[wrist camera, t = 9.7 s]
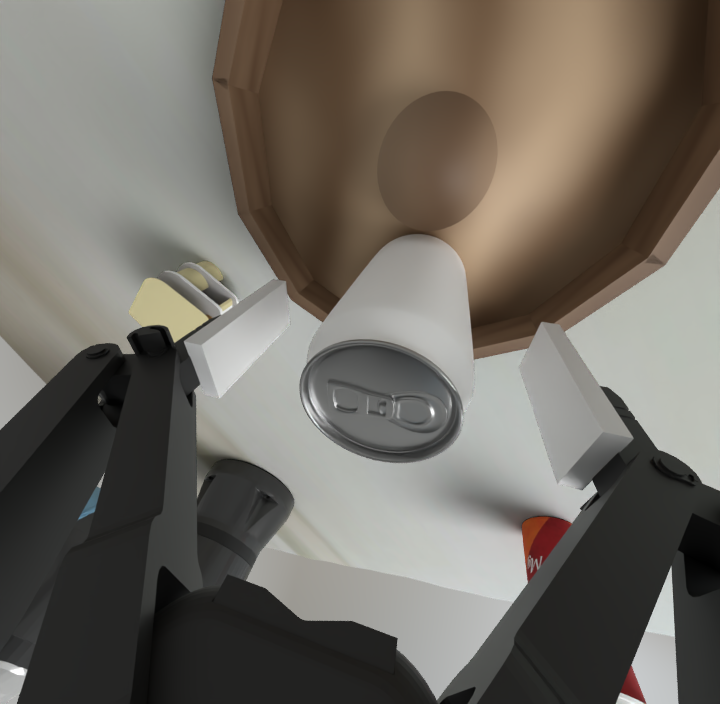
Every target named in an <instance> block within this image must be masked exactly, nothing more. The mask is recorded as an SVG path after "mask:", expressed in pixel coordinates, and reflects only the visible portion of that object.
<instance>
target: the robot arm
mask: <svg viewBox="0 0 720 704" xmlns="http://www.w3.org/2000/svg"><path fill="white" fill-rule="evenodd" d="M289 325H290V315H289V306H288V296H287V287H286V281H282V280H276V279H273V280H271V281H270V282H268V283H267V284H266V285H264V286H263V287H261V288H260V289H258V290H257V291H255V292H254V293H253V294H251V295H250V296H248V297H247V298H245V299H244V300H242V301H241V302H240V303H238V304H237V305H235V306H234V307H232V308H231V309H229V310H228V311H227V312H225V313H224V314H222V315H219V316H216V317H213V318H211V319H209V320H207V321H206V322H205V323H203V324H202V326H201V325H200V326H199V327H197V328H196V329H195V330H193V331H191V332H190V333H188V334H187V335H185V336H184V337H182V338H181V339H179V340H178V341H176V342H175V343H174V341H173V338H172V336H171V334H170V331H169V329H168V327H166V326H163V325H150V326H146V327H142V328H139V329H137V330H134V331H133V332H131V333H130V334H129V335H128V336H127V339H128V341H129V343H130V345H131V347H132V349H133V351H134V352H135V354H122V352H121V350H120V348H119V346H118V345H116V344H112V343H105V344H97V345H95V346H94V345H93V346H90V347H89V348H87V349H85V350H83V351H81V352H80V353H78V354H77V355H76V356H75V357H74V358H73V359H72V360H71V361H70V362H69V363H68V364H67V365H66V366H65V367H64V368H63V369H62V370H61V371H60V372H59V373H58V374H57V375H56V376H55V377H54V378H53V379H52V380H51V381H50V382H49V383H48V384H47V385H46V386H45V387H44V388H43V389H42V390H40V391H39V392H38V393H37V394H36V395H35V396H34V397H33V398H32V399H31V400H30V401H29V402H28V403H27V404H26V405H25V406H24V407H23V408H22V409H21V410H20V411H19V412H18V413H17V414H16V415H15V416H14V417H13V418H12V419H11V420H10V421H9V422H8V423H7V424H6V425H5V426H4V427H3V428H2V429H1V430H0V704H6V703H7V702H8V701H10V700H11V699H12V698H13V697H15V696H16V695H18V694H19V693H20V695H19V699H18V702H17V704H616V702H617V699H618V697H619V694H620V692H621V689H622V687H623V684H624V682H625V679H626V677H627V674H628V672H629V669H630V667H631V664H632V661H633V659H634V657H635V654H636V652H637V649H638V647H639V645H640V642H641V639H642V637H643V635H644V632H645V630H646V627H647V625H648V622H649V620H650V617H651V615H652V612H653V610H654V607H655V605H656V602H657V600H658V597H659V595H660V592H661V590H662V587H663V585H664V582H665V580H666V577H667V575H668V572H669V570H670V567H671V565H672V584H673V603H674V623H675V643H676V663H677V680H678V681H677V682H678V701H679V704H720V491H718V490H716V489H714V488H711V487H709V486H707V485H704V484H702V482H701V480H700V479H699V477H698V476H697V474H696V473H695V472H694V471H693V470H692V469H691V468H690V467H689V466H688V465H686V464H685V463H683V462H682V461H680V460H679V459H677V458H676V457H674V456H672V455H670V454H668V453H665V452H663V451H659V450H658V449H657V448H656V447H655V445H654V444H653V442H652V441H651V440H650V438H649V437H648V435H647V434H646V433H645V431H644V430H643V428H642V427H641V425H640V424H639V423H638V421H637V420H635V417H634V416H633V414H632V413H631V411H628V410H629V409H628V407H627V406H626V404H625V403H624V402H623V400H622V399H621V398H620V397H619V396H618V395H617V394H615V393H614V392H613V391H612V390H611V389H609V388H607V387H602V386H599V384H598V383H597V381H596V380H595V378H594V377H593V375H592V374H591V372H590V371H589V369H588V368H587V366H586V365H585V363H584V361H583V360H582V358H581V357H580V355H579V354H578V352H577V351H576V349H575V348H574V346H573V345H572V343H571V342H570V340H569V339H568V337H567V336H566V334H565V332H564V331H563V329H562V328H561V326H560V325H559V324H553V323H546V322H541V324H540V326H539V328H538V330H537V332H536V334H535V336H534V338H533V340H532V342H531V344H530V346H529V348H528V350H527V352H526V354H525V356H524V358H523V360H522V362H521V364H520V366H519V369H520V372H521V375H522V378H523V381H524V384H525V387H526V390H527V393H528V396H529V399H530V402H531V405H532V408H533V411H534V414H535V417H536V420H537V423H538V427H539V430H540V433H541V436H542V439H543V442H544V445H545V448H546V451H547V454H548V457H549V460H550V463H551V466H552V469H553V472H554V475H555V478H556V481H557V484H560V485H564V486H568V487H572V488H576V489H580V490H583V489H584V488H585V487H586V486H587V485H588V484H589V483H590V482H591V481H592V480H593V482H594V485H595V487H596V489H597V491H598V492H597V493H596V494H595V495H593V496H592V497H591V498H590V499H589V500H588V501H587V502H586V503H585V504H584V505H583V506H582V507H581V508H580V509H581V510H582V511H581V512H580V514H579V515H578V516H577V518H576V519H575V520H574V522H573V523H572V524H571V526H570V527H569V529H568V530H567V531H566V533H565V534H564V535H563V537H562V538H561V539H560V541H559V542H558V543H557V545H556V546H555V547H554V549H553V550H552V551H551V553H550V554H549V556H548V557H547V558H546V560H545V561H544V562H543V564H542V565H541V566H540V568H539V569H538V570H537V572H536V573H535V574H534V576H533V577H532V579H531V580H530V581H529V583H528V584H527V585H526V587H525V588H524V589H523V591H522V592H521V593H520V595H519V596H518V597H517V599H516V600H515V601H514V603H513V604H512V606H511V607H510V608H509V610H508V611H507V612H506V614H505V615H504V617H503V618H502V619H501V620H500V622H499V623H498V625H497V626H496V627H495V628H494V630H493V631H492V633H491V634H490V635H489V637H488V638H487V639H486V641H485V642H484V643H483V645H482V646H481V647H480V649H479V650H478V652H477V653H476V654H475V656H474V657H473V658H472V659H471V660H470V662H469V663H468V664H467V665H466V666H465V667H464V668H463V669H462V670H461V671H460V672H459V673H458V674H457V676H456V677H455V678H454V679H453V680H452V682H451V683H450V685H449V686H448V687H447V688H446V690H445V691H444V692H443V693H442V695H441V696H440V697H439V699H438V700H436V698H435V696H434V694H433V693H432V691H431V690H430V688H429V686H428V685H427V683H426V681H425V680H424V679H423V677H422V676H421V674H420V673H419V672H418V670H416V668H415V667H414V666H413V665H412V664H411V663H410V661H409V660H408V659H407V658H406V657H405V656H404V655H403V654H401V653H400V652H399V651H398V650H397V649H396V648H397V638H395V637H393V636H390V635H387V634H385V633H382V632H380V631H377V630H374V629H372V628H369V627H366V626H364V625H361V624H358V623H356V622H353V621H305V620H302V619H300V618H299V617H297V616H296V615H295V614H294V613H293V612H292V611H291V610H289V609H288V608H287V607H286V606H285V605H284V604H283V603H282V602H280V601H279V600H278V599H277V598H276V597H275V596H274V595H272V594H271V593H270V592H269V591H268V590H267V589H265V588H263V587H260V586H258V585H255V584H252V583H250V582H247V581H246V579H247V577H248V575H249V573H250V571H251V569H252V567H253V565H254V563H255V561H256V558H257V557H258V555H259V553H260V551H261V550H262V549H263V548H264V547H265V545H266V544H267V543H268V542H269V541H270V539H271V538H272V537H273V536H274V535H275V534H276V532H277V531H278V530H279V529H280V528H281V526H282V525H283V524H284V523H285V522H286V520H287V519H288V517H289V515H290V513H291V511H292V508H293V506H294V499H293V496H292V495H291V493H290V492H289V490H288V489H287V488H286V487H285V486H284V485H283V484H282V483H281V482H280V481H279V480H277V479H276V478H275V477H273V476H272V475H270V474H269V473H267V472H265V471H263V470H262V469H260V468H257V467H255V466H253V465H250V464H248V463H245V462H241V461H236V460H221V461H218V462H217V463H215V465H214V466H213V467H212V469H211V470H210V471H209V472H208V474H207V475H206V477H205V480H204V482H203V485H202V487H201V490H200V492H199V495H198V497H197V460H196V395H195V393H194V389H196V388H197V387H198V386H199V385H200V386H201V388H202V391H203V394H204V395H207V396H211V397H215V398H219V399H220V398H221V397H222V396H223V395H224V394H225V393H226V391H227V390H228V389H229V388H230V387H231V386H232V385H233V384H234V383H235V382H236V381H237V380H238V379H239V378H240V377H241V376H242V375H243V374H244V373H245V372H246V370H247V369H248V368H249V367H250V366H251V365H252V364H253V363H254V362H255V361H256V360H257V359H258V358H259V357H260V356H261V355H262V354H263V353H264V352H265V351H266V349H267V348H268V347H269V346H270V345H271V344H272V343H273V342H274V341H275V340H276V339H277V338H278V337H279V336H280V335H281V334H282V333H283V332H284V331H285V330H286V328H287V327H288V326H289ZM98 396H100V397H101V399H102V400H101V402H100V403H99V404H98ZM104 473H105V474H104ZM103 474H104V479H103V482H102V486H101V488H99V487H97V485H98V483H99V481H100V480H101V478H102V476H103Z"/></svg>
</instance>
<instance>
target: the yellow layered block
mask: <svg viewBox="0 0 720 704" xmlns="http://www.w3.org/2000/svg"><path fill="white" fill-rule="evenodd" d="M221 280H223V276H222V274H221V272H220V270H219V269H218V268H217V267H216V266H215V265H214V264H212V263H211V262H208V261H202V262H200V263H197V264H195V263H192V262H186V263H184V264H182V265H180V266H179V268H178V269H177V271H176V272H174V271H164V272H162V273H160V274H159V275H158V277H157V279H156V278H147V279H145V280H144V281H143V283H142V285H141V288H140V290H139V292H138V294H137V296H136V298H135V300H134V302H133V304H132V306H131V308H130V310H129V314H130V315H131V316H132V317H133V318H134V319H135V320H136V321H137V322H138V323H139V324H140V325H141V326H142V327H146V326H150V325H163V326H166V327H168V329H169V331H170V334H171V336H172V338H173V341H174V343H175V342H176V341H178V340H179V339H181V338H182V337H184V336H185V335H187V334H188V333H190V332H191V331H193V330H195V329H196V328H197V327H199V326H200V325H201V326H202V324H203V323H205V322H206V321H207V320H209V319H211V318H213V317H216V316H219V315H222V314H224V313H225V312H227V311H228V310H229V309H231V308H232V307H234V306H235V305H237V304H238V303H239V302H238V298H237V297H236V296H235V294H233V293H232V292H231V291H230V290H229V289H227V288H226V287H225V286H224V285H223V284H221V283H220V282H219V281H221Z"/></svg>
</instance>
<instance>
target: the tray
mask: <svg viewBox="0 0 720 704" xmlns="http://www.w3.org/2000/svg"><path fill="white" fill-rule="evenodd" d="M212 80H213V85H214V90H215V95H216V101H217V106H218V111H219V116H220V122H221V127H222V132H223V137H224V143H225V148H226V153H227V158H228V164H229V169H230V174H231V179H232V185H233V190H234V195H235V200H236V206H237V211H238V215H239V216H240V218H241V220H242V221H243V223H244V224H245V226H246V228H247V229H248V231H249V233H250V234H251V236H252V237H253V239H254V241H255V242H256V244H257V245H258V247H259V249H260V250H261V252H262V253H263V255H264V257H265V258H266V260H267V262H268V263H269V265H270V266H271V268H272V270H273V271H274V273H275V274H276V276H277V278H278V279H279V280H282V281H286V287H287V294H288V295H289V297H290V299H291V300H292V301H294V302H295V303H296V304H298V305H299V306H301V307H302V308H303V309H305V310H306V311H308V312H309V313H310V314H312V315H313V316H315V317H316V318H317V319H319V320H320V321H322V322H323V321H324V320H325V319H326V317H327V316H328V315H329V313H330V312H331V311H332V310H333V308H334V307H335V306H336V304H337V303H338V302H339V301H340V299H341V298H342V297H343V295H344V294H345V293H346V292H347V290H348V289H349V288H350V287H351V285H352V284H353V283H354V281H355V280H356V279H357V278H358V276H359V275H360V274H361V273H362V271H363V270H364V269H365V268H366V266H367V265H368V264H369V263H370V261H371V260H372V259H373V258H374V256H375V255H376V254H377V253H378V252H379V251H380V250H381V249H382V248H383V247H384V246H385V245H386V244H388V243H389V242H391V241H392V240H394V239H396V238H399V237H402V236H405V235H410V234H424V235H430V236H433V237H436V238H438V239H440V240H442V241H444V242H445V243H447V244H448V245H449V246H451V247H452V248H453V249H454V250H455V252H456V253H457V254H458V256H459V257H460V259H461V261H462V263H463V266H464V269H465V274H466V282H467V291H468V301H469V311H470V322H471V333H472V344H473V357H474V359H479V358H484V357H489V356H493V355H498V354H503V353H508V352H512V351H517V350H522V349H527V348H529V346H530V344H531V342H532V340H533V338H534V336H535V334H536V332H537V330H538V328H539V326H540V324H541V322H546V323H553V324H559V325H560V326H561V328H562V329H563V331H564V332H565V331H566V330H568V329H569V328H571V327H572V326H574V325H575V324H577V323H578V322H580V321H581V320H583V319H584V318H586V317H587V316H589V315H590V314H592V313H593V312H595V311H596V310H598V309H599V308H601V307H603V306H604V305H606V304H607V303H609V302H610V301H612V300H613V299H615V298H616V297H618V296H619V295H621V294H622V293H624V292H625V291H627V290H628V289H630V288H631V287H633V286H634V285H636V284H637V283H639V282H640V281H642V280H643V279H645V278H646V277H648V276H649V275H651V274H652V273H654V272H655V271H657V270H658V269H660V268H661V267H663V266H664V265H666V263H667V262H668V260H669V259H670V257H671V256H672V255H673V253H674V252H675V250H676V249H677V248H678V246H679V245H680V243H681V242H682V240H683V239H684V238H685V236H686V235H687V233H688V232H689V231H690V229H691V228H692V226H693V225H694V224H695V222H696V221H697V219H698V218H699V216H700V215H701V214H702V212H703V211H704V209H705V208H706V207H707V205H708V204H709V202H710V201H711V199H712V198H713V197H714V195H715V194H716V192H717V191H718V190H719V188H720V0H225V6H224V12H223V18H222V24H221V29H220V35H219V41H218V47H217V53H216V59H215V65H214V71H213V76H212Z"/></svg>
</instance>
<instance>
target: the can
mask: <svg viewBox="0 0 720 704" xmlns="http://www.w3.org/2000/svg"><path fill="white" fill-rule="evenodd" d="M474 383H475V373H474V357H473V344H472V333H471V322H470V311H469V301H468V291H467V282H466V274H465V269H464V266H463V263H462V261H461V259H460V257H459V256H458V254H457V253H456V252H455V250H454V249H453V248H452V247H451V246H449V245H448V244H447V243H445V242H444V241H442V240H440V239H438V238H436V237H433V236H430V235H424V234H410V235H405V236H402V237H399V238H396V239H394V240H392V241H391V242H389V243H388V244H386V245H385V246H384V247H383V248H382V249H381V250H380V251H379V252H378V253H377V254H376V255H375V256H374V258H373V259H372V260H371V261H370V263H369V264H368V265H367V266H366V268H365V269H364V270H363V271H362V273H361V274H360V275H359V276H358V278H357V279H356V280H355V281H354V283H353V284H352V285H351V287H350V288H349V289H348V290H347V292H346V293H345V294H344V295H343V297H342V298H341V299H340V301H339V302H338V303H337V304H336V306H335V307H334V308H333V310H332V311H331V312H330V313H329V315H328V316H327V317H326V319H325V320H324V321H323V323H322V324H321V326H320V327H319V329H318V330H317V332H316V333H315V335H314V337H313V339H312V341H311V343H310V346H309V350H308V355H307V364H306V366H305V368H304V370H303V372H302V375H301V379H300V397H301V401H302V404H303V407H304V409H305V411H306V413H307V415H308V416H309V418H310V419H311V421H312V422H313V423H314V425H315V426H316V427H317V428H318V429H319V430H320V431H321V432H322V433H323V434H324V435H325V436H327V437H328V438H329V439H330V440H332V441H333V442H334V443H336V444H338V445H339V446H341V447H343V448H344V449H346V450H348V451H350V452H352V453H355V454H357V455H360V456H363V457H366V458H369V459H373V460H377V461H382V462H390V463H411V462H418V461H422V460H426V459H429V458H432V457H434V456H436V455H438V454H440V453H442V452H443V451H445V450H446V449H447V448H449V447H450V446H451V445H452V444H453V443H454V441H455V440H456V439H457V437H458V435H459V433H460V431H461V428H462V425H463V418H464V413H465V412H466V410H467V408H468V406H469V404H470V402H471V399H472V396H473V391H474Z"/></svg>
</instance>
